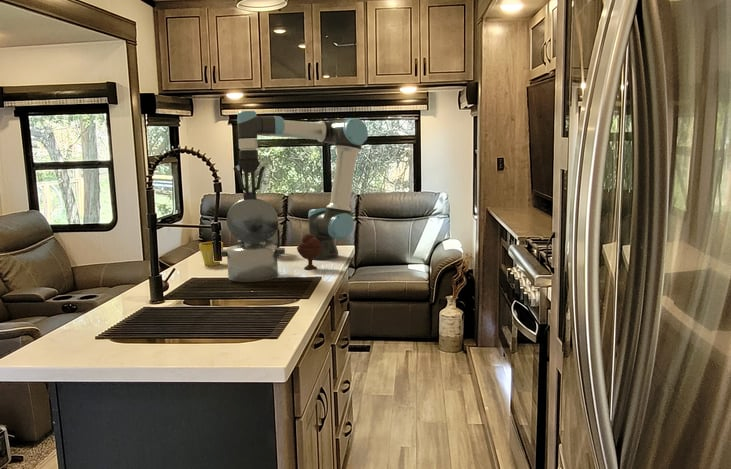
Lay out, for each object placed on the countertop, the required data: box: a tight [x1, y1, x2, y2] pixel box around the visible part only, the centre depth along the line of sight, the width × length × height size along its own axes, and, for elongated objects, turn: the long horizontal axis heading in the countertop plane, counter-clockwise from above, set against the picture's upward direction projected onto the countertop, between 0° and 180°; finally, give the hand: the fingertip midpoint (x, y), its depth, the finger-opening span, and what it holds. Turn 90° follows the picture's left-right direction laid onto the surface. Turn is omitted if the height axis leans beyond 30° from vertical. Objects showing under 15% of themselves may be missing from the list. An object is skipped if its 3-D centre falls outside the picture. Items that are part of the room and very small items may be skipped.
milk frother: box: [262, 227, 281, 257], centre depth 298 cm, size 14×16×15 cm
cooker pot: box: [221, 243, 286, 283], centre depth 250 cm, size 26×20×12 cm
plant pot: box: [198, 241, 224, 267], centre depth 278 cm, size 10×10×10 cm
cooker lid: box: [226, 191, 279, 245], centre depth 255 cm, size 21×24×4 cm
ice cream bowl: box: [296, 233, 323, 271], centre depth 262 cm, size 11×11×15 cm
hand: (251, 207), depth 253 cm, fingers closed
